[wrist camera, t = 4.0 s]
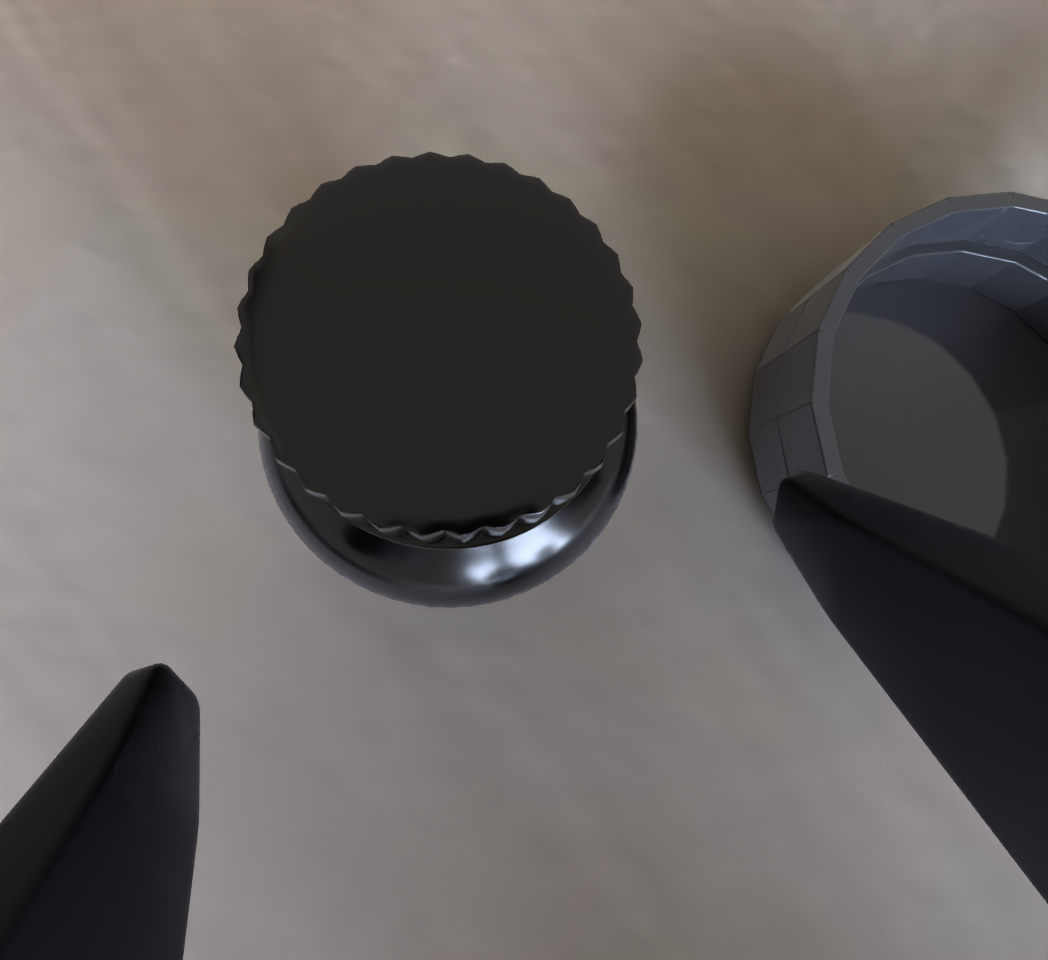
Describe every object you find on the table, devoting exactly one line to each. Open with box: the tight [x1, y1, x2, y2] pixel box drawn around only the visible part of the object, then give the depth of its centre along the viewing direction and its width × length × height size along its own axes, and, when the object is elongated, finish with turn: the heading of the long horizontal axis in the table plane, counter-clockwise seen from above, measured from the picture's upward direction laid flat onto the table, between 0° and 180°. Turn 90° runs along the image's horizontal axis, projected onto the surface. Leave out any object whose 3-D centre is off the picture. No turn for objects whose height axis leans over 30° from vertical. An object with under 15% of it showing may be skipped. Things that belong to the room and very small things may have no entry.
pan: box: [749, 192, 1048, 556], centre depth 18 cm, size 13×13×4 cm
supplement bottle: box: [234, 152, 643, 608], centre depth 12 cm, size 7×7×12 cm
